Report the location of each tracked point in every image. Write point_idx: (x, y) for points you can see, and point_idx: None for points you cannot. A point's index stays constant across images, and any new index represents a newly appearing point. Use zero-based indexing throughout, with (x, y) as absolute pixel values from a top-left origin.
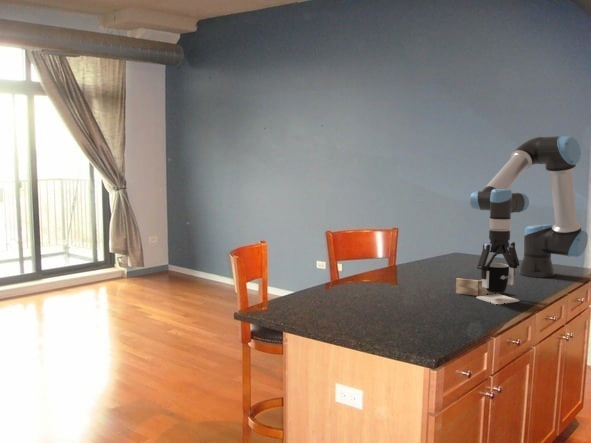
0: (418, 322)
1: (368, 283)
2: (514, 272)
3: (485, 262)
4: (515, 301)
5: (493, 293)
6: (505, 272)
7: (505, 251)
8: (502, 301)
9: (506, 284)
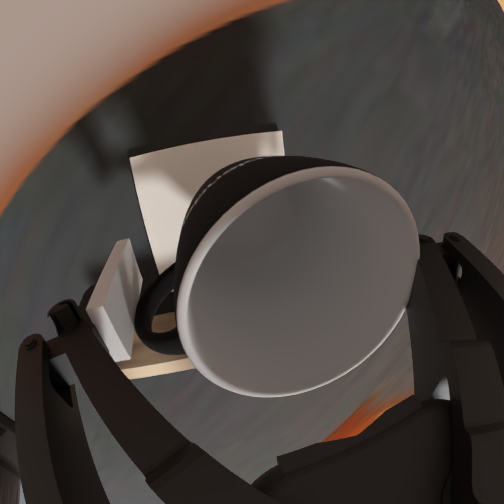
0: (498, 107)
1: (397, 396)
2: (81, 302)
3: (475, 265)
4: (154, 151)
5: (174, 312)
6: (283, 157)
7: (272, 500)
8: (235, 148)
9: (216, 172)
